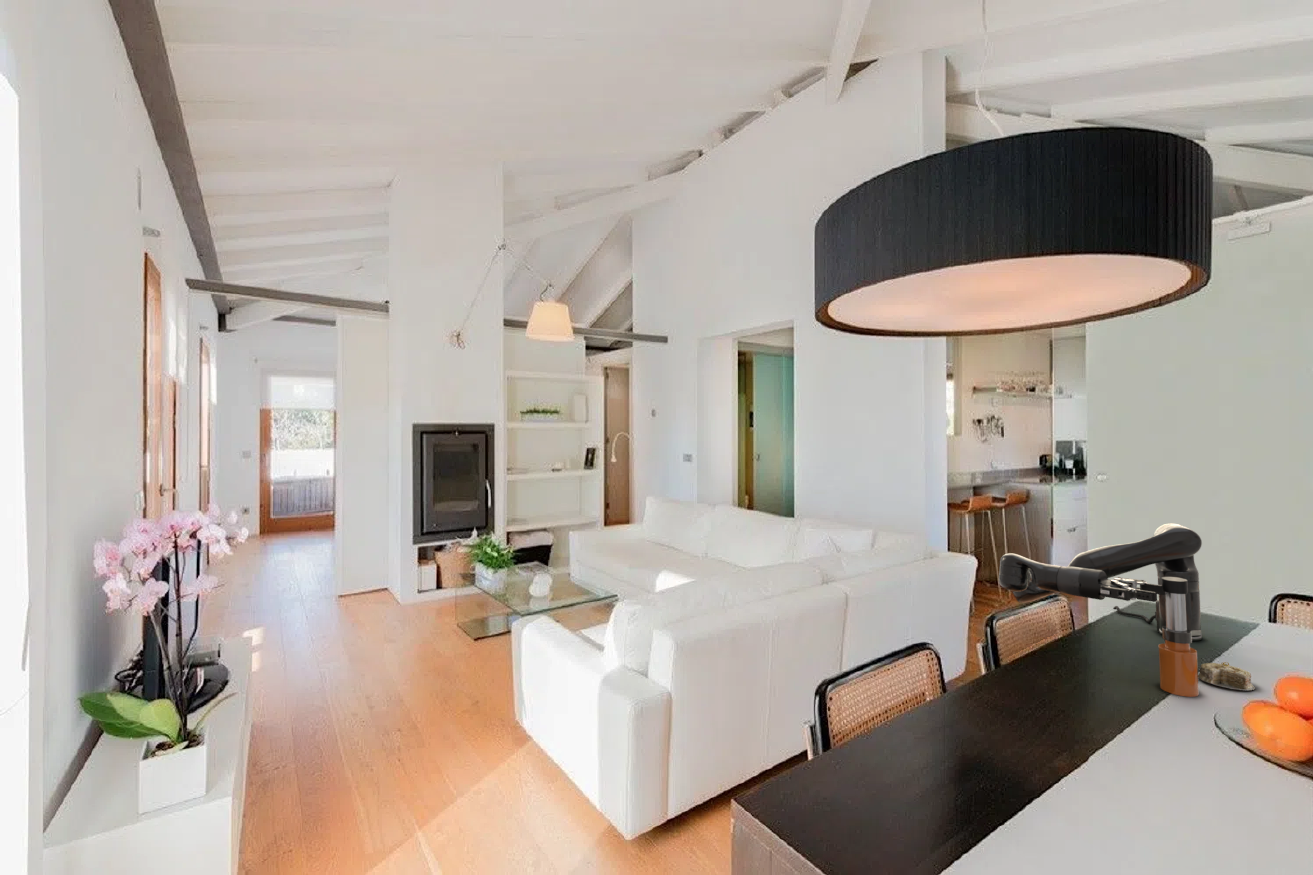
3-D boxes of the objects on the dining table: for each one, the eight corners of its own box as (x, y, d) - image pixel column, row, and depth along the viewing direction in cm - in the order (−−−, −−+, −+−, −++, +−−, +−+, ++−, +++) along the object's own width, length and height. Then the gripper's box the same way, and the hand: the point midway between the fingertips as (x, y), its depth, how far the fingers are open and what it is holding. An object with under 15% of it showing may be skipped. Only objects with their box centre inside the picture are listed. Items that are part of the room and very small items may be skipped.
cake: (1190, 674, 146) (1189, 653, 146) (1243, 681, 142) (1241, 658, 142) (1207, 687, 137) (1206, 664, 137) (1264, 694, 133) (1263, 670, 133)
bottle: (1152, 685, 140) (1150, 625, 140) (1179, 683, 140) (1177, 624, 140) (1178, 697, 133) (1175, 634, 133) (1207, 696, 133) (1204, 633, 133)
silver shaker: (1158, 626, 139) (1156, 577, 139) (1176, 625, 139) (1174, 576, 139) (1176, 633, 134) (1173, 581, 134) (1195, 632, 134) (1192, 580, 135)
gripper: (1091, 591, 156) (1170, 603, 143) (1072, 601, 147) (1153, 615, 134) (1090, 563, 156) (1168, 573, 143) (1071, 572, 148) (1152, 583, 134)
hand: (1161, 593), depth 139 cm, fingers open, 8 cm apart
